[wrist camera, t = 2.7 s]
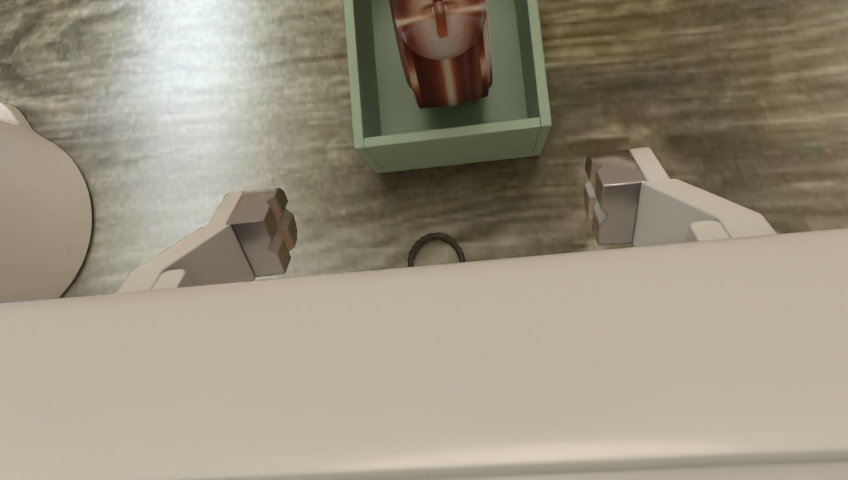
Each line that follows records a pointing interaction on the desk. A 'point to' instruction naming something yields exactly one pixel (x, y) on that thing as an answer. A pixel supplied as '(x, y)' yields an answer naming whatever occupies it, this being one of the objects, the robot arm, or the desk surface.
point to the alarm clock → (444, 49)
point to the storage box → (456, 125)
